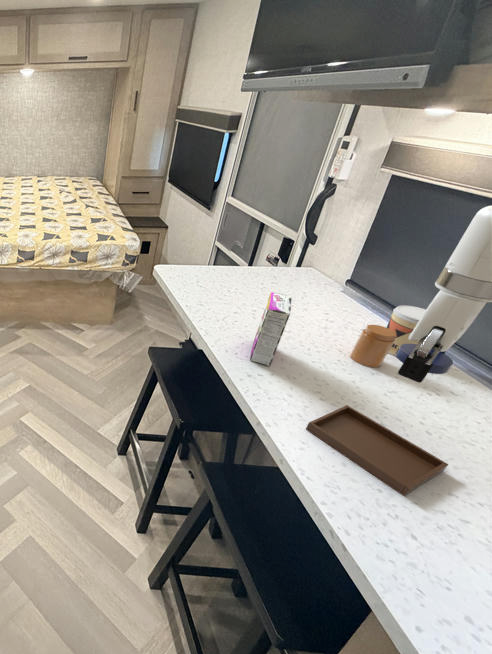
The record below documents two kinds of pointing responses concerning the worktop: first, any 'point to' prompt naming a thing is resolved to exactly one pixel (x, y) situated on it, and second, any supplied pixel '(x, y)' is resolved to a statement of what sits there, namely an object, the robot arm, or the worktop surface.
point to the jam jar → (373, 345)
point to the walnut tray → (377, 449)
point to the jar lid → (439, 363)
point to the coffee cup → (404, 325)
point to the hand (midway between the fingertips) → (416, 370)
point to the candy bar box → (271, 328)
